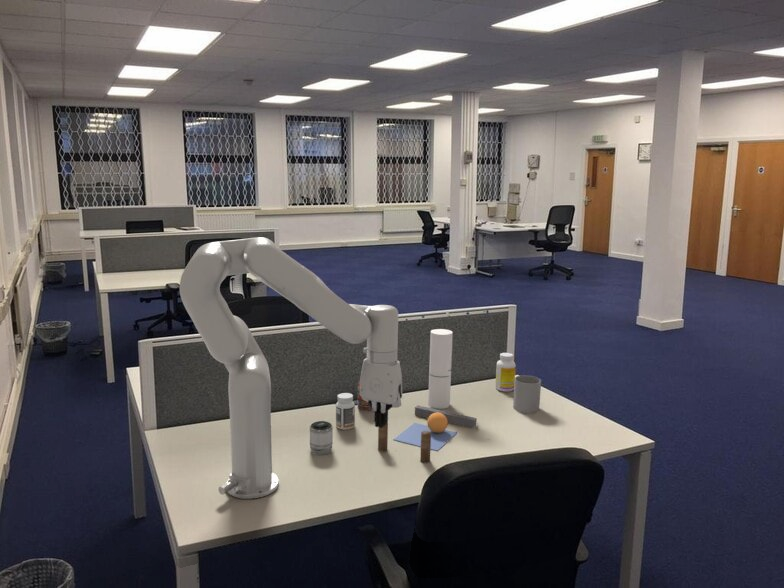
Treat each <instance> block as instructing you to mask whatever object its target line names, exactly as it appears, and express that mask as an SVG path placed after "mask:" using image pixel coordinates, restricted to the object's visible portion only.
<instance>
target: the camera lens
mask: <svg viewBox="0 0 784 588" xmlns="http://www.w3.org/2000/svg"><path fill="white" fill-rule="evenodd" d="M333 428H334V427H333V424H332V423H330V422H329V421H325V420H320V421H319V420H318V421H315V422H313V423H312V424H310V426H309V449H310V451H311V453H312V454H314V455H319V456H321V455H328V454H329V453H331V452H332V449H333V444H334V443H333V433H334V432H333Z"/></svg>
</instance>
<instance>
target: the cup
mask: <svg viewBox="0 0 784 588" xmlns="http://www.w3.org/2000/svg"><path fill="white" fill-rule="evenodd" d="M541 388H542V379H541V378H539V377H537V376H534V375H521V374H520V375H518V376H515V384H514V390H513V403H512V407H513V409H514V410H515V411H516V412H519V413H522V414H535V413H538V412H539V411H540V403H541V391H542V389H541Z"/></svg>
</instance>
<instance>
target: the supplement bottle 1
mask: <svg viewBox="0 0 784 588" xmlns="http://www.w3.org/2000/svg"><path fill="white" fill-rule="evenodd" d="M357 408H358V410H360V411H364V412H365V411H366V412H369V411H373V409H372V406H371V405H370V404H369V402H366V401H364V400H363V399H362V397H361V396H360V380H359V381H358V383H357Z"/></svg>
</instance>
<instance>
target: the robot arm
mask: <svg viewBox="0 0 784 588" xmlns="http://www.w3.org/2000/svg"><path fill="white" fill-rule="evenodd" d="M244 274H250V275H251V276H253V277H254V278H255V279H257V280H259V281H260V282H262V284H264V285H266V286H268V287H269V288H270V289H272V290H273V291H275V292H277V294H279V295H281V296H282V297H283V298H285V299H286V300H288V301H289V302H291V303H292V304H294V305H295V307H297V308H298V309H299V310H301V311H302V312H303V313H305V314H307V316H309V317H311V318H312V319H313V320H314V321H316V322H317V323H318V324H320V325H321V326H323V327H324V328H326V329H327V330H328V331H330V332H331V333H333V334H334V335H335V336H337V337H338V338H340V339H342V340H343V341H345V342H347V343H349V344H352V345H357V344H361V343H363V342H365V341H366V347H364V348H363V349H362V354H366V358H364V359H363V362H362V365H361V366H362V367H361V372H360V377H359V378H360V379H359V381H360V396H361V397H362V399H363V400H364V401H366V402H369V404H370V405H371V406H372V409H373V410H372V411H374V413H373V414H374V415H373V416H374V417H373V418H374V427H376V428H378V427H379V428H382V427H383V426H385V425H386V424H387V422H388V421H389V410H391V409H392V408H393V409H394V408H396V409H397V408H400V407H401V406H402V398H403V373H402V368H401V363H400V360H398V346H399V345H398V342H399V341H398V339H399V336H398V335H399V311H398V309H397V308H396V307H395V306H393V305H390V304H389V305H388V304H376V305H364V304H363V305H362V304H355V303H354V304H353V303H348V302H346V301H345V300H344V299H342V298H341V297H340V296H338V295H337V294H336V293H335V292H334V291H333V290H331V289H330V288H329V287H328V286H327V285H326V284H325V282H324V281H323V280H322V278H320V277H319V276H318V275H316V274H315V273H314V272H313V271H312V270H310V269H308V268H307V267H306V266H305V265H302V264H301V263H300V262H298V261H297V260H296V259H294V258H292V257H291V256H290V255H289V254H287V253H286V252H285V251H283V250H281V249H280V248H279V247H278V246H277V245H276V243H275V242H274V241H273V240H271V239H269V238H267V237H261V236H258V237H249V238H242V239H241V238H240V239H232V240H221V241H212V242H208V243H204V244H203V245H200V246H199V247H198V248H197V250H196V251H195V252H194V253H193V256H192V257H191V258H190V260H189V261H188V263H187V265H186V266H185V268H184V270H183V271H182V274H181V276H180V279H179V295H180V299H181V302H182V304H183V306H184V308H185V310H186V312H187V314H188V315H189V317H190V319H191V321H192V322H193V325H194V327H195V329H196V330H197V332H198V334H199V335H200V337H201V339H202V341H203V342H204V344H205V347H206V348H207V350H208V352H209V354H210V356H212V358H214V359H215V360H216V361H217V362H219V363H221V364H223V365H224V367H225V368H226V370H227V372H228V373H229V375H228V389H227V390H228V405H229V428H230V448H231V449H230V452H231V453H230V455H231V473H229V475H228V480H227V481H226V483H224V484H222V485H221V486H219V487H218V493H219V494H220V495H225V494H226V493H227V494H229V495H230V496H232V497H234V498H237V499H244V500H252V499H253V498H254V499H259V497H260V498H263V497H266V496H268V495H270V494H272V493H274V492H275V491H276V490H277V489H278V487H279V485H280V483H279V477H278V476H277V474H275V473H273V459H272V458H273V455H272V453H273V450H272V413H271V412H272V411H271V405H272V404H271V403H272V400H271V399H272V397H271V396H272V385H271V384H272V383H271V375H270V368H269V364H268V361H267V359H266V357H265V355H264V353H263V352H262V350H261V348H260V346H259V345H258V342H257V341H256V339H255V337H254V336H253V334H252V332H251V329H249V327H248V325H247V324H246V322H245V321H244V320H243V319H242V318H240V317H239V316H237V315H234V314H233V313H232V311H231V309H230V308H229V305H228V303H227V301H226V300H225V298H224V297H223V295H222V293H221V289H220V287H221V284H222V283H223V281H224V280H225V279H226V278H227V277H228V276H236V275H244ZM388 423H389V422H388Z"/></svg>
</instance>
